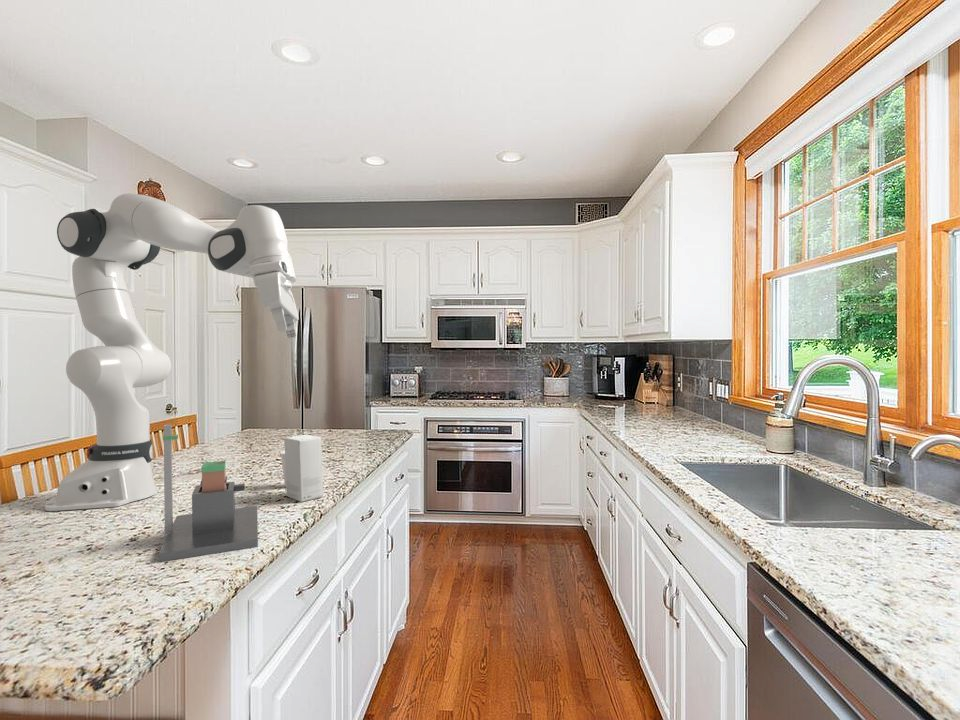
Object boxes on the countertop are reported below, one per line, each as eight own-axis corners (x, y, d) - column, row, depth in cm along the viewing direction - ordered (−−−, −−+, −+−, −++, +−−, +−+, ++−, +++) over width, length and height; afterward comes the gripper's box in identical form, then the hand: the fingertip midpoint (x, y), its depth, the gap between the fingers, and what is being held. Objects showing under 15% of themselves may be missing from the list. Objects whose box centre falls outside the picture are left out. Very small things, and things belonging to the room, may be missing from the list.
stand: (154, 562, 85) (152, 433, 85) (173, 523, 105) (172, 418, 105) (257, 546, 92) (256, 427, 92) (257, 512, 112) (256, 414, 112)
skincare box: (323, 497, 124) (323, 437, 124) (299, 503, 119) (298, 440, 119) (308, 491, 129) (307, 433, 129) (284, 496, 125) (283, 436, 124)
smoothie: (308, 483, 137) (308, 434, 137) (297, 489, 131) (297, 438, 130) (287, 482, 138) (286, 434, 137) (275, 489, 131) (274, 438, 131)
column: (200, 529, 96) (200, 466, 96) (202, 522, 100) (202, 462, 100) (226, 525, 98) (226, 464, 98) (227, 519, 102) (227, 460, 102)
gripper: (271, 289, 117) (283, 344, 117) (246, 264, 97) (261, 330, 97) (297, 284, 119) (310, 338, 118) (278, 258, 99) (293, 323, 98)
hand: (287, 334), depth 107 cm, fingers open, 8 cm apart
